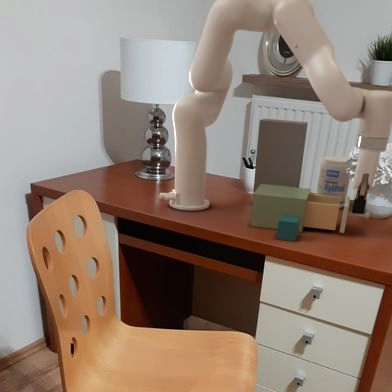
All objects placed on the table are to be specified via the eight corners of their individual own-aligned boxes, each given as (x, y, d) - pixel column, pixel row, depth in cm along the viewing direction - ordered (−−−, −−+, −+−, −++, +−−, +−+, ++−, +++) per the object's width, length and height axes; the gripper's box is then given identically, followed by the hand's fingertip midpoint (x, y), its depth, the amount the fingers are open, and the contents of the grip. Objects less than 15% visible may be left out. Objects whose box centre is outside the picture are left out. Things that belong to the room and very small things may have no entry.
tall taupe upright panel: (297, 205, 170) (308, 122, 157) (293, 209, 165) (304, 124, 152) (257, 199, 174) (264, 118, 161) (251, 203, 169) (259, 120, 156)
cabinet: (306, 219, 156) (311, 188, 151) (301, 232, 145) (306, 199, 141) (258, 214, 159) (261, 183, 154) (250, 226, 148) (253, 193, 144)
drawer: (366, 224, 151) (371, 198, 147) (365, 235, 141) (371, 209, 138) (299, 216, 155) (302, 191, 151) (294, 227, 146) (298, 201, 142)
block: (297, 235, 142) (300, 217, 140) (295, 241, 138) (297, 222, 136) (279, 233, 144) (281, 215, 141) (276, 238, 139) (278, 220, 137)
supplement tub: (321, 209, 166) (329, 161, 158) (310, 201, 174) (317, 155, 166) (349, 209, 168) (358, 161, 160) (337, 201, 176) (345, 155, 168)
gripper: (357, 138, 142) (345, 205, 152) (356, 146, 130) (342, 219, 139) (386, 140, 141) (371, 208, 150) (387, 149, 128) (371, 222, 138)
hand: (357, 213), depth 145 cm, fingers closed
